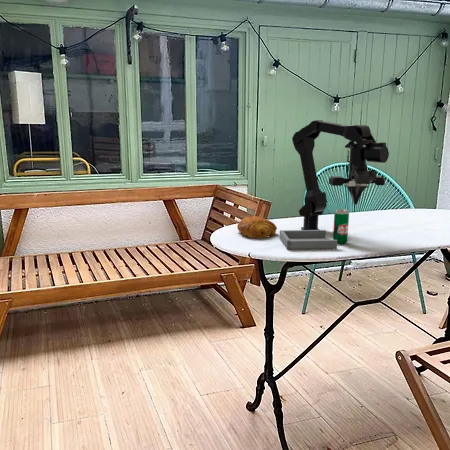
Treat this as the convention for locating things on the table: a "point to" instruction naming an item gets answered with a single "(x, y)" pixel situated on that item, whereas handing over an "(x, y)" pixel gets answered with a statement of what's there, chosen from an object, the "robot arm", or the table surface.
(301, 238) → the tray
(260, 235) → the croissant
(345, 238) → the soda can
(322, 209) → the robot arm
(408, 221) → the table surface
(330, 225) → the table surface
